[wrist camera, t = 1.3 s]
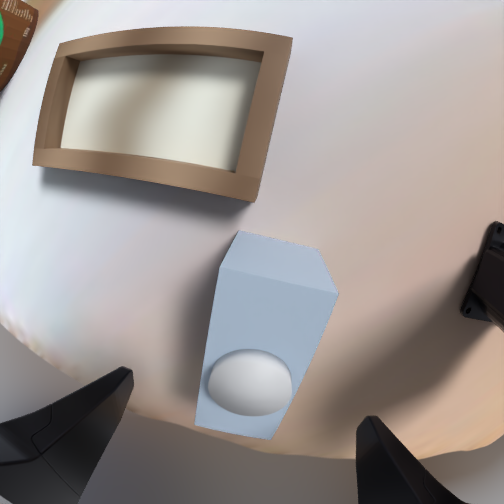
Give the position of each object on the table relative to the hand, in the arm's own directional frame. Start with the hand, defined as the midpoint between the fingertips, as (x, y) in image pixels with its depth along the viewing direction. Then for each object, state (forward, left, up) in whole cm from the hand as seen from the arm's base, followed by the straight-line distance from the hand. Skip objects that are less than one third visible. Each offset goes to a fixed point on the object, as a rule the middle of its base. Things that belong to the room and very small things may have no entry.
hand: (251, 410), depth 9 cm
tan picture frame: (+8, -10, -7) cm, 14 cm away
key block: (0, 0, -7) cm, 7 cm away
